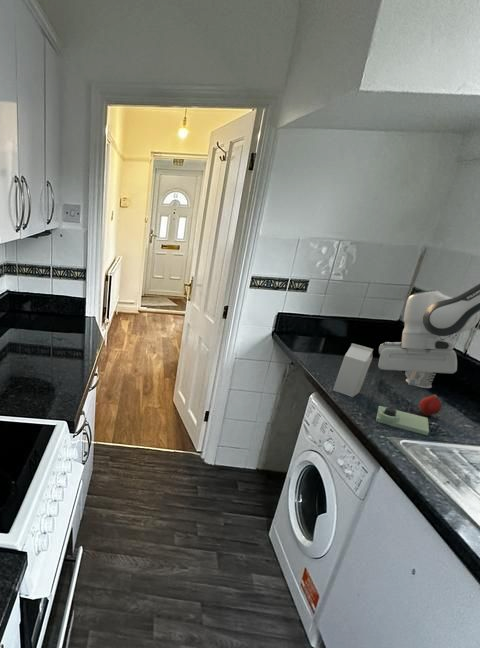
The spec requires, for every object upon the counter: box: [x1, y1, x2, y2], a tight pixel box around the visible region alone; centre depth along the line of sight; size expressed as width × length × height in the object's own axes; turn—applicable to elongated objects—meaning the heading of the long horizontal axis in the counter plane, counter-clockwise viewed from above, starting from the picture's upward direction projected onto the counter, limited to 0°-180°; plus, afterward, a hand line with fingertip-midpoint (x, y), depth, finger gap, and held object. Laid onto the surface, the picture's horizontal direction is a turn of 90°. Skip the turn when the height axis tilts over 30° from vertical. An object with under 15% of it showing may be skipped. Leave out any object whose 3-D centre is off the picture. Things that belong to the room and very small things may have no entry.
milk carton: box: [332, 343, 374, 398], centre depth 153 cm, size 7×7×19 cm
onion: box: [419, 394, 442, 417], centre depth 142 cm, size 6×6×8 cm
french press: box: [405, 336, 441, 389], centre depth 164 cm, size 10×12×25 cm
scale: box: [375, 405, 430, 436], centre depth 137 cm, size 14×12×3 cm
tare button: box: [384, 407, 397, 416], centre depth 136 cm, size 3×3×2 cm
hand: (414, 384), depth 135 cm, fingers closed
